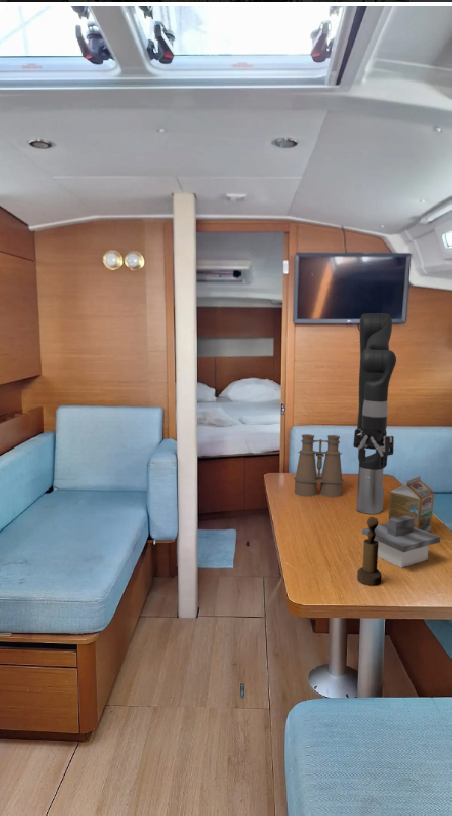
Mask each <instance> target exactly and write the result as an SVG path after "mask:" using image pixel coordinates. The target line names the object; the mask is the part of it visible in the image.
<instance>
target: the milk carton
mask: <svg viewBox="0 0 452 816" xmlns="http://www.w3.org/2000/svg"><path fill="white" fill-rule="evenodd" d="M434 497H435V492H434V491H433V489H431V487H430V486H429V485H428V484H426V483H425V482H424V481H423V480H422V478H421V475H418V476H415V477H413V478H410V479H407V480H405V484H403V485H401V486H399V487H397V488H395V489H392V490H391V491H390V493H389V506H388V507H389V510H388V520H389V519H392V518H396V517H401V516H405V515H408V516H410V517H413V518H415V520H414V527H416V528H418V529H421V530H424V531H426V532H429V533H431V534H432V525H433V514H434V513H433V512H434V500H435V499H434Z"/></svg>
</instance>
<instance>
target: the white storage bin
mask: <svg viewBox="0 0 452 816" xmlns="http://www.w3.org/2000/svg"><path fill="white" fill-rule="evenodd" d="M374 540H375V539H374ZM376 541H377V540H376ZM378 542H379V541H378ZM429 546H430V545H428V546H424V547H421V548H417V549H414V550H410V551H406V552H401V551H399V550H397V549H395V548H392V547H390V546H388V545H386V544H384V543H381V542H379V545H378V558H380V559H381V560H385V561H386V562H388V563H390V564H393V565H395V566H396V567H398V568H401V569H402V568H405V566H406V567H410V566H411V565H416V564H418V563H421V562H425V560H426V561H428V558H429V549H430V547H429ZM415 563H416V564H415Z"/></svg>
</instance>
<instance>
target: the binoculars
mask: <svg viewBox="0 0 452 816" xmlns="http://www.w3.org/2000/svg"><path fill="white" fill-rule="evenodd" d="M301 437H302V439H301V443H302V445H301V450H300V451H298V452H297V454H299V457H298V460H297V461H298V463H297V468H296V472H295V473H296V474H295V477H294V478H293V479H294V481H295V482H294V483H295V484H294V494H295V495H297V496H299V497H314V496H317V486H318V485H317V484H318V483H320V488H319V494H320V495H321V496H323V497H327V498H328V497H329V498H339V497H341V496H342V495H343V482H344V479H343V473H342V458H341V455H343V453H341V452H340V451H339V444H340V443H341V441H340V438H341V436H340V435H336V434H329V435H327V436H326V437H327V439H322V438H319V439H315V435H314V434H308V433H307V434H305V433H304V434H301ZM315 442H318V451H314V443H315ZM322 442H325V443H327V450H326V451H322ZM316 457H317V458H316ZM323 458H324V459H323ZM322 459H323V462H322ZM316 460H317V462H316ZM322 463H323V465H322ZM321 469H322V470H321Z"/></svg>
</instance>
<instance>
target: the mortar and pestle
mask: <svg viewBox="0 0 452 816" xmlns="http://www.w3.org/2000/svg"><path fill="white" fill-rule="evenodd" d="M366 524H367V528H368V527H369V532H368V533H367V534H368V536H367V539H366V538H365V539H364V540H363V546H362V547H363V550H362V551H363V552H362V566H361V567H359V568H358V569H357V572H356V573H357V574H356V575H357V576H356V580H357V581H358V583H359V584H363V585H366V586H372V587H373V586H379V585H380V584H381V583H382V579H383V578H382V575H383V574H382V572H381V571H380V570H379V569H378V563H379V562H378V558H379V557H378V545H379V542H378V541H376V540H374V539H375V537H376V533H375V529H376V527H377V526H378V525H379V520H378V518H376V517H374V516H369V517H368V518H367V520H366Z"/></svg>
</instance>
